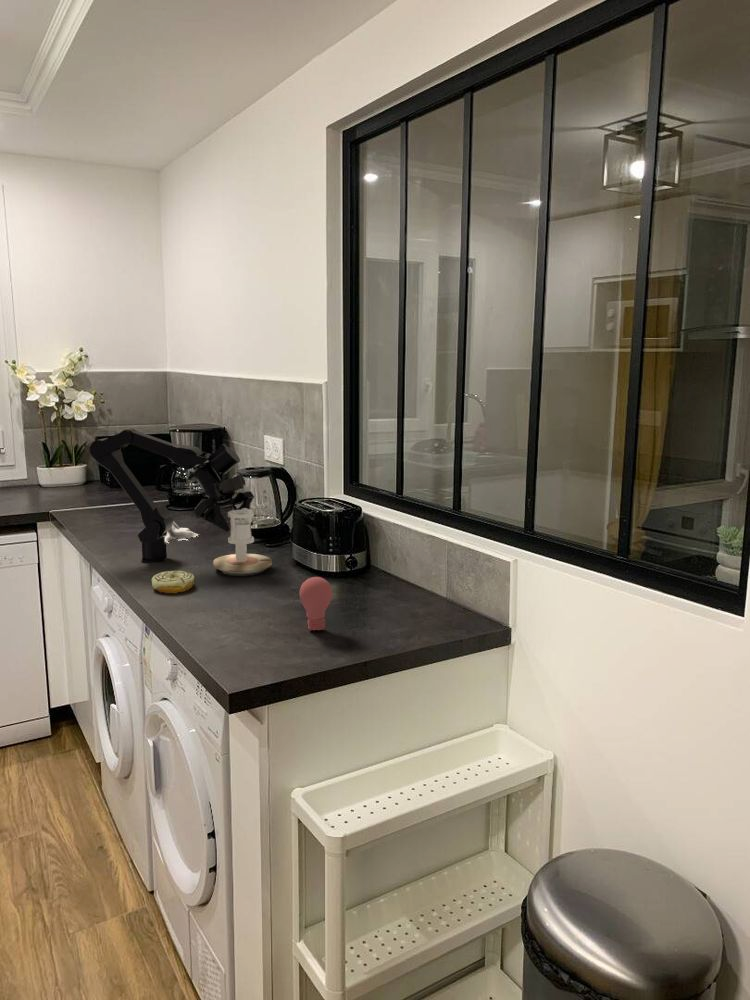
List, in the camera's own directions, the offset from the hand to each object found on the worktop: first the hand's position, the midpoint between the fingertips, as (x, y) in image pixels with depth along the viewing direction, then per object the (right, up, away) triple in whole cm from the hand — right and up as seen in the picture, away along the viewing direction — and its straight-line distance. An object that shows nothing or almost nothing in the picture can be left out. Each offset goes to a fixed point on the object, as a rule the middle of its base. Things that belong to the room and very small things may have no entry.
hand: (240, 528), depth 207 cm
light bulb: (+24, -21, -43) cm, 54 cm away
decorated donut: (-14, -15, -16) cm, 26 cm away
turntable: (0, -10, +2) cm, 10 cm away
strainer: (0, -9, +1) cm, 9 cm away
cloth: (-29, -5, +39) cm, 49 cm away
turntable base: (0, -12, +2) cm, 12 cm away
